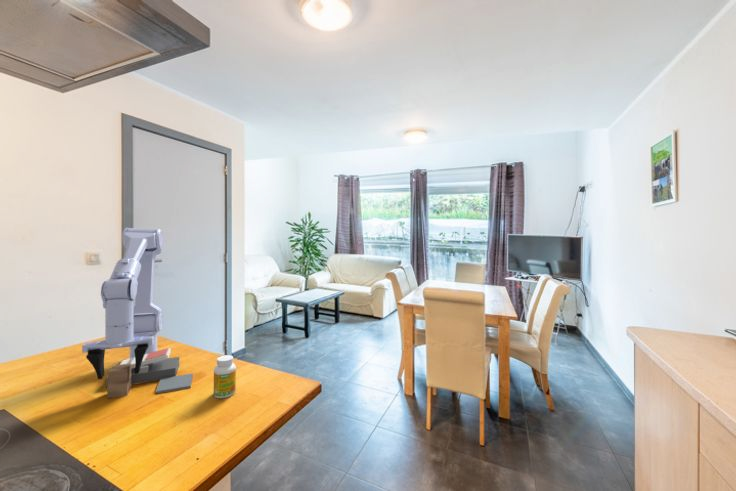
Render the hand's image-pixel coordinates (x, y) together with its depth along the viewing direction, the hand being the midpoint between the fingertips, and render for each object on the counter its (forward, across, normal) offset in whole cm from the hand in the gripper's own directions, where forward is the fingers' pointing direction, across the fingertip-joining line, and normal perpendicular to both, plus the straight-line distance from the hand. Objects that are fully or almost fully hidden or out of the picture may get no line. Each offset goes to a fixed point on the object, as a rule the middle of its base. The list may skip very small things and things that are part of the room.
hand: (119, 374), depth 79 cm
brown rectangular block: (+5, 0, 0) cm, 5 cm away
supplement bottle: (+5, +25, -11) cm, 28 cm away
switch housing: (+5, +4, +9) cm, 11 cm away
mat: (+5, +12, 0) cm, 13 cm away
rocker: (+1, +4, +9) cm, 10 cm away
